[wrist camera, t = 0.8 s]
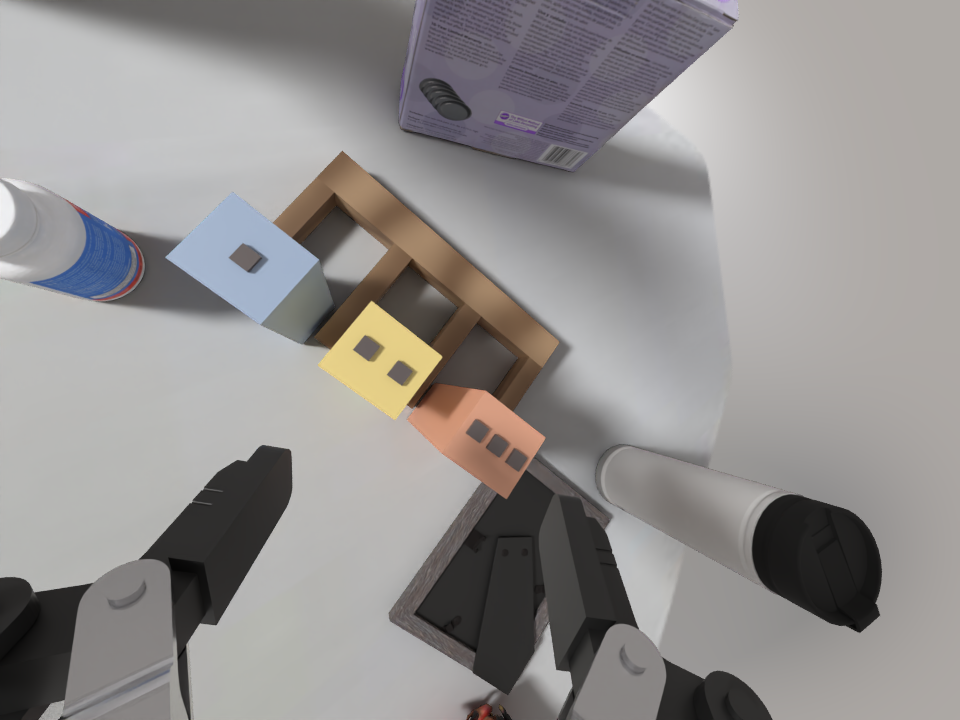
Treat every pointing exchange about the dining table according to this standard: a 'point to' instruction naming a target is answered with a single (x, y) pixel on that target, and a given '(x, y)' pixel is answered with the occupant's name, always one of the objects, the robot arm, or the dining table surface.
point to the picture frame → (488, 580)
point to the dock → (431, 261)
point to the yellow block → (381, 360)
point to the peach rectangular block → (477, 434)
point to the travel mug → (753, 531)
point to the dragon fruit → (488, 713)
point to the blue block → (257, 269)
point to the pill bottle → (63, 246)
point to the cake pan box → (547, 69)
